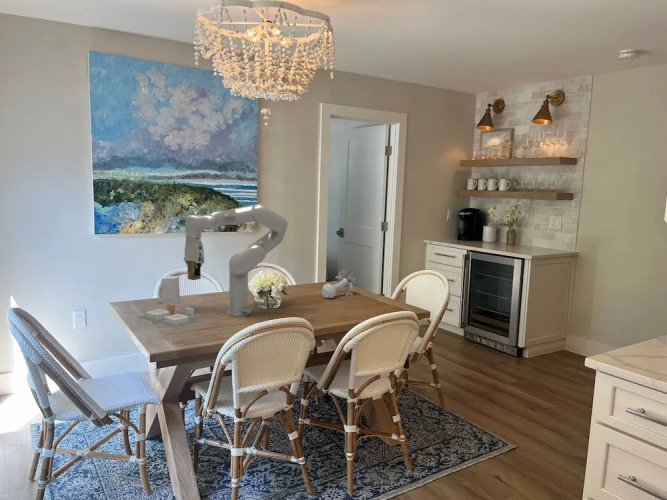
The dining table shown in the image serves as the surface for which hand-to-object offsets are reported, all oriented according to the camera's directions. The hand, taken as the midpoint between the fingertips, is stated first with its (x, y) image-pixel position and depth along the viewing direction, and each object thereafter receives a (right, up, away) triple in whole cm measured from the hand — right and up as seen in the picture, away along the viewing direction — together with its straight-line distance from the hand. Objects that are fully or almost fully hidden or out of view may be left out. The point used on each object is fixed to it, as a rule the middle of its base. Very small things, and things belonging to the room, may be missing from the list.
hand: (194, 274), depth 254 cm
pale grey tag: (0, -21, -8) cm, 23 cm away
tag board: (-9, -22, -10) cm, 26 cm away
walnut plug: (0, -2, 0) cm, 2 cm away
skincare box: (-19, -18, +22) cm, 34 cm away
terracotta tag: (-11, -20, -1) cm, 23 cm away
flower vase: (+75, -16, +54) cm, 94 cm away
